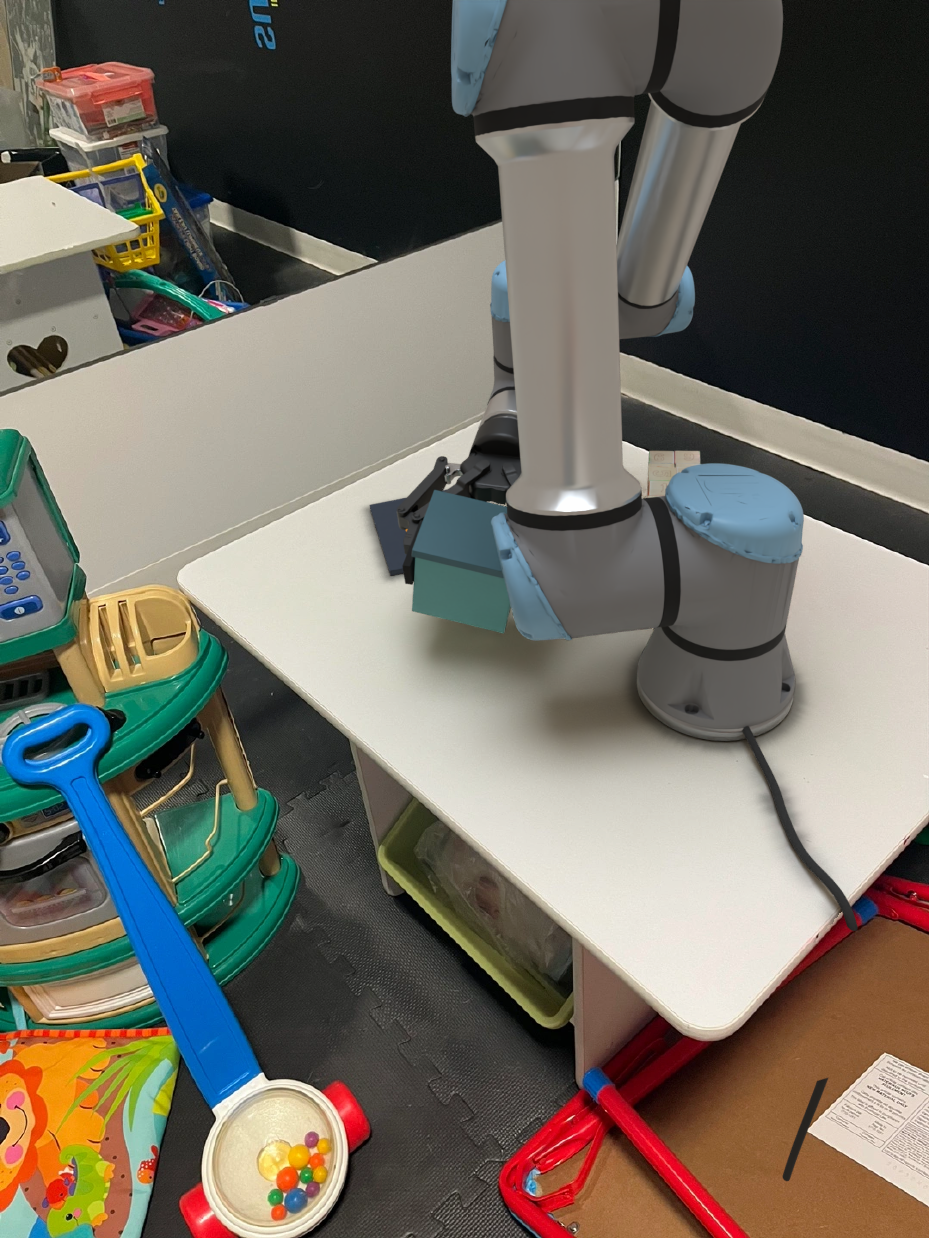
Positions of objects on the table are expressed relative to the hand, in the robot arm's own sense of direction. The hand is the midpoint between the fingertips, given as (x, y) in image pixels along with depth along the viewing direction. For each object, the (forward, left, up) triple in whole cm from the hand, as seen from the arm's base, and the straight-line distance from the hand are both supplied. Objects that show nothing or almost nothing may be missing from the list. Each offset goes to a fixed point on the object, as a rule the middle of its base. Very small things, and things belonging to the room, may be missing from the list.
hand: (462, 583), depth 90 cm
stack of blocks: (+10, -27, -12) cm, 31 cm away
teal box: (+6, -1, -6) cm, 8 cm away
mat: (+27, -2, -11) cm, 30 cm away
